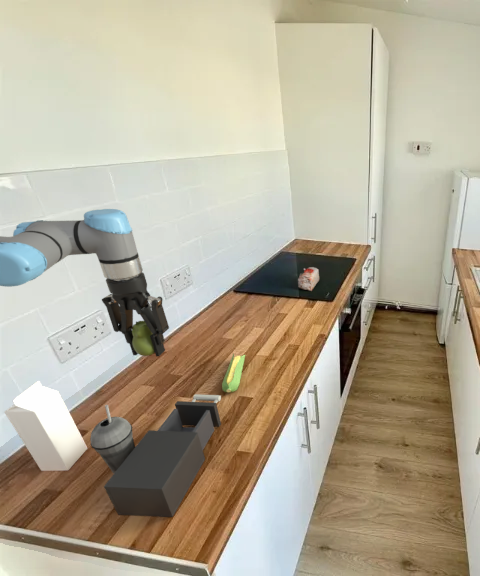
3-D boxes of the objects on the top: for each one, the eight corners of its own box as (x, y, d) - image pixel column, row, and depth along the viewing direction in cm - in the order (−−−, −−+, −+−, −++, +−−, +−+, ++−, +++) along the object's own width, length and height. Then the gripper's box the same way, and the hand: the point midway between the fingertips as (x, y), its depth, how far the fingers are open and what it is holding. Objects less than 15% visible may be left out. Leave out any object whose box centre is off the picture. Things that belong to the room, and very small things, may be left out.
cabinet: (158, 457, 80) (148, 430, 76) (205, 459, 80) (197, 432, 76) (118, 515, 68) (103, 486, 64) (172, 517, 68) (161, 489, 64)
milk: (88, 448, 81) (54, 380, 72) (68, 471, 76) (28, 400, 66) (62, 448, 81) (24, 379, 71) (40, 471, 75) (-4, 400, 66)
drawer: (194, 407, 93) (188, 386, 90) (229, 409, 93) (225, 388, 90) (154, 463, 77) (145, 441, 74) (197, 465, 77) (190, 443, 74)
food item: (312, 292, 164) (311, 274, 160) (297, 290, 165) (296, 273, 160) (320, 281, 176) (320, 264, 172) (306, 280, 177) (305, 263, 173)
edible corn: (220, 398, 98) (218, 386, 96) (233, 357, 115) (231, 346, 113) (238, 396, 99) (236, 384, 97) (248, 355, 116) (247, 345, 114)
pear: (151, 345, 92) (141, 315, 87) (166, 349, 90) (157, 319, 86) (132, 357, 87) (121, 325, 82) (147, 361, 86) (137, 329, 81)
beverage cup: (112, 461, 78) (83, 399, 70) (148, 451, 81) (125, 390, 72) (103, 489, 72) (70, 425, 64) (142, 477, 75) (115, 415, 66)
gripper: (172, 270, 82) (190, 346, 92) (98, 267, 82) (125, 343, 92) (153, 283, 75) (175, 363, 85) (72, 279, 75) (104, 359, 85)
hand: (149, 352), depth 88 cm, fingers closed on pear, 5 cm apart
